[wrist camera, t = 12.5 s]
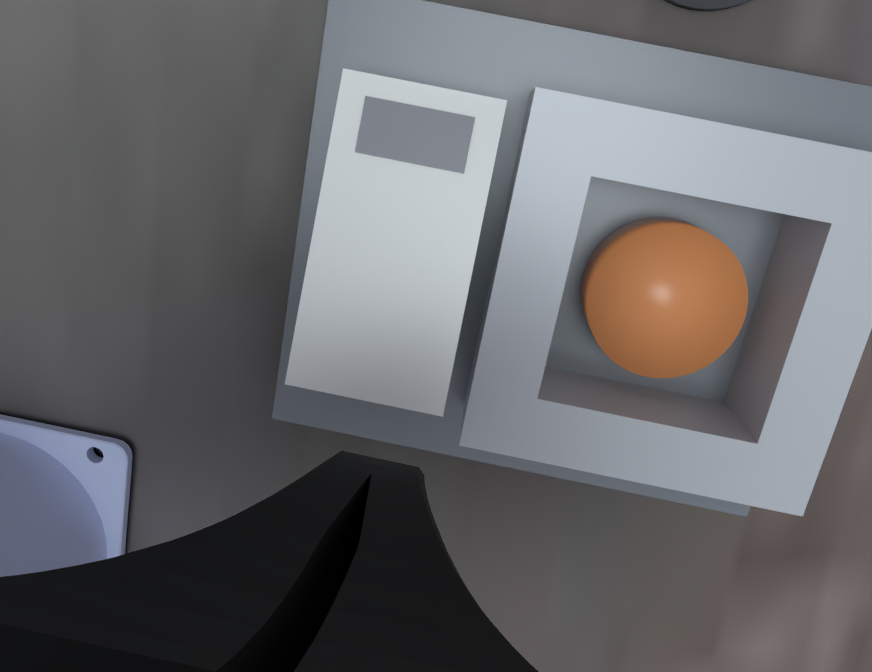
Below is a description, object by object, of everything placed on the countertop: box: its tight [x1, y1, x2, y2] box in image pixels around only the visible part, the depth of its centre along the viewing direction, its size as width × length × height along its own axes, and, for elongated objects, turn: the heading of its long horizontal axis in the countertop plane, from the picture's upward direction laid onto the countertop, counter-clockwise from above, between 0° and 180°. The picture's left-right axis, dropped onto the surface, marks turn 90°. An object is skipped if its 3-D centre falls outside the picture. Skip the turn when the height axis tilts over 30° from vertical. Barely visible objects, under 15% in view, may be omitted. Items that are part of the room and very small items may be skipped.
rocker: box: [285, 68, 507, 417], centre depth 17 cm, size 4×7×1 cm, turn 169°
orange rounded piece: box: [581, 217, 748, 378], centre depth 18 cm, size 4×4×1 cm
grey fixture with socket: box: [272, 0, 872, 517], centre depth 19 cm, size 13×11×5 cm
